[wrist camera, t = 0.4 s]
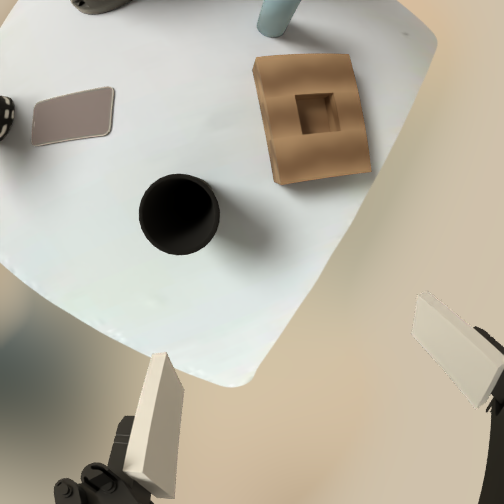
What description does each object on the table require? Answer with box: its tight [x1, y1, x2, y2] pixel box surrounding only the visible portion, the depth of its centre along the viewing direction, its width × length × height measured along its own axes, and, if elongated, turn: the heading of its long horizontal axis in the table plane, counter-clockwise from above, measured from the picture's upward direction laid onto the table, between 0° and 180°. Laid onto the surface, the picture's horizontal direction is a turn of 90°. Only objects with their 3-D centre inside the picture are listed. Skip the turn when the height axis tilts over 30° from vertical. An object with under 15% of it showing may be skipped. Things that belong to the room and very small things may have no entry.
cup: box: [139, 174, 220, 255], centre depth 30 cm, size 8×8×12 cm
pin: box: [257, 0, 301, 37], centre depth 22 cm, size 4×4×14 cm
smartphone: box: [31, 87, 114, 146], centre depth 30 cm, size 7×1×15 cm
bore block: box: [252, 54, 371, 185], centre depth 31 cm, size 16×12×5 cm
